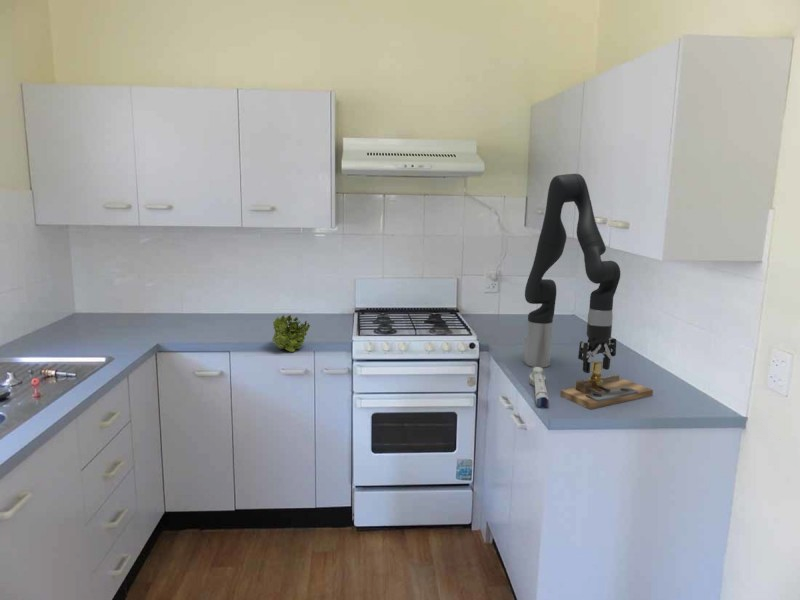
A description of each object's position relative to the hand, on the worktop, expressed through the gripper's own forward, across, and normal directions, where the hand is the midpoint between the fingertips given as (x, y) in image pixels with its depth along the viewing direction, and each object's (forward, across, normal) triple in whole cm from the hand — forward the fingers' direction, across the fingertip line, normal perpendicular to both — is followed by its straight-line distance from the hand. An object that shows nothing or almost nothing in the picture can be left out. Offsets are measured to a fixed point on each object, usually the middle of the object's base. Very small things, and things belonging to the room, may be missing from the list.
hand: (596, 370), depth 186 cm
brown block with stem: (+6, +5, +2) cm, 8 cm away
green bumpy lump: (+8, +75, -94) cm, 120 cm away
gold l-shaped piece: (+6, 0, +2) cm, 6 cm away
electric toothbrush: (+9, +16, -9) cm, 20 cm away
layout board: (+8, -3, +2) cm, 9 cm away
